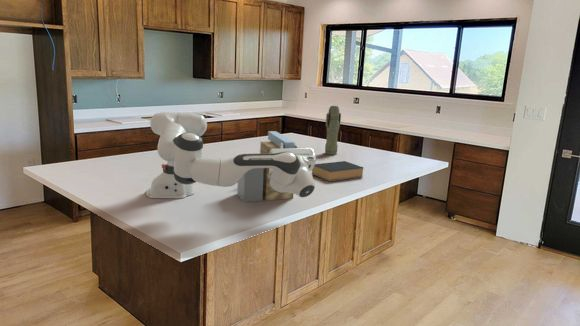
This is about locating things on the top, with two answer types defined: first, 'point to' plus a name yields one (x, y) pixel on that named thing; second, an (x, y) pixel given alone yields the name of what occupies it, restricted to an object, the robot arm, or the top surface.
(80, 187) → the top surface
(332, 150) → the olive piece
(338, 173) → the book
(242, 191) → the grey rectangular block
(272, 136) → the light blue bar
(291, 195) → the carton
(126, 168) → the top surface
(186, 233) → the top surface
